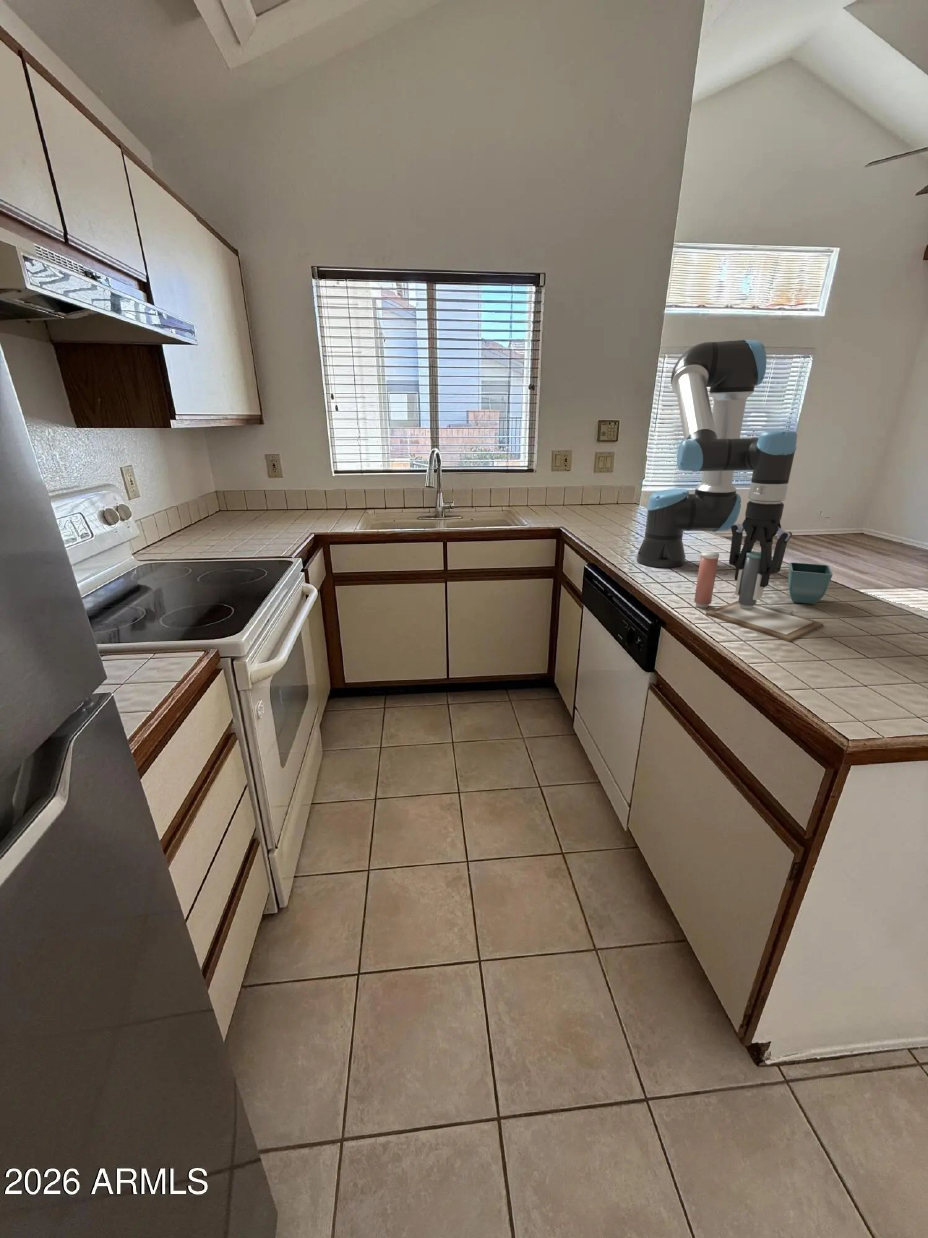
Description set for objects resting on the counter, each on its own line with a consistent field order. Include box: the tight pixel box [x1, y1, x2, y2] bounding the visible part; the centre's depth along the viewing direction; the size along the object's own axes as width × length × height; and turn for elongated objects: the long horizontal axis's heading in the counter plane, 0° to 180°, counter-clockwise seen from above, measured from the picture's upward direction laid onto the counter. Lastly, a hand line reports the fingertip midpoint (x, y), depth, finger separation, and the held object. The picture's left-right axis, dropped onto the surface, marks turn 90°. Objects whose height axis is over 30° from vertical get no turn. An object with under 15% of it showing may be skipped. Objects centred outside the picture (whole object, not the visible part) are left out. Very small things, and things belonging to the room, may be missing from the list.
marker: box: [737, 550, 761, 610], centre depth 126 cm, size 4×4×14 cm
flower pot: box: [787, 561, 833, 605], centre depth 133 cm, size 9×9×9 cm
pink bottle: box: [694, 551, 720, 609], centre depth 130 cm, size 4×4×14 cm
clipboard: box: [705, 600, 824, 642], centre depth 123 cm, size 20×15×1 cm
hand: (748, 596), depth 128 cm, fingers closed on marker, 4 cm apart
